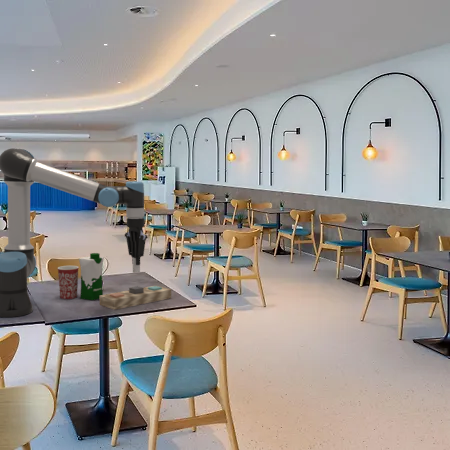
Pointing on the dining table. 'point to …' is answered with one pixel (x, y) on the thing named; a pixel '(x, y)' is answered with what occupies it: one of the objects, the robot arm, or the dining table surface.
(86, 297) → the milk carton
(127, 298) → the oak button console
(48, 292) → the dining table surface
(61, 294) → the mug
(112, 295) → the terracotta button
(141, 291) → the charcoal button
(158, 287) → the teal button
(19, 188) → the robot arm
